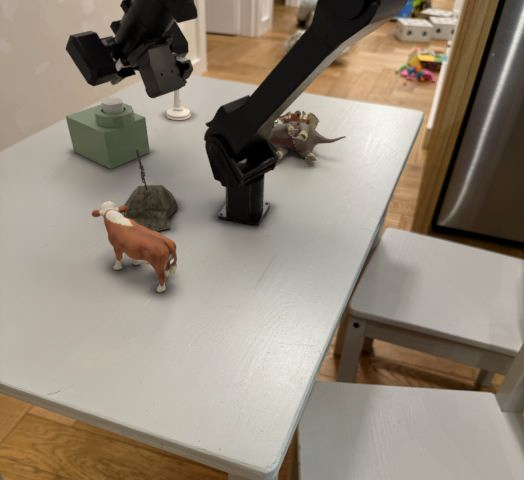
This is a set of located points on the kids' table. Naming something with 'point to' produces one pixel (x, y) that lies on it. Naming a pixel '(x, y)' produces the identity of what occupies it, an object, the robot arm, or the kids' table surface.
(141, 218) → the sword in stone
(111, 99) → the flush button
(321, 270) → the kids' table surface
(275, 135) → the figurine
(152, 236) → the bull figurine
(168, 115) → the chess piece
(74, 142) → the green push button box
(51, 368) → the kids' table surface
